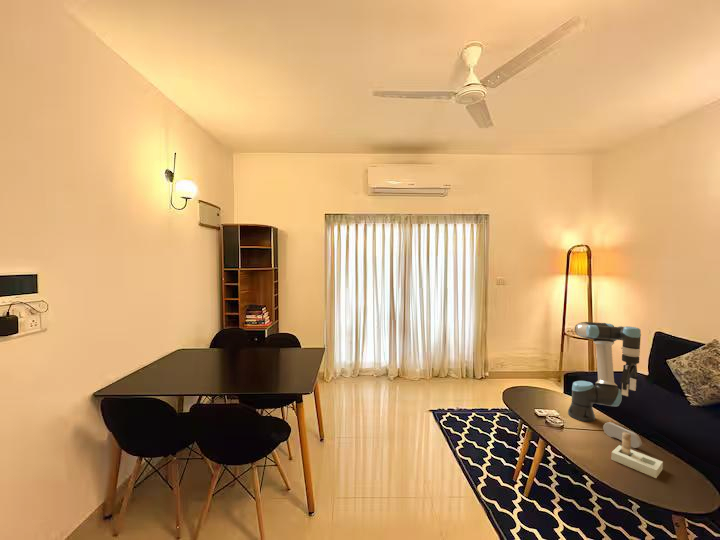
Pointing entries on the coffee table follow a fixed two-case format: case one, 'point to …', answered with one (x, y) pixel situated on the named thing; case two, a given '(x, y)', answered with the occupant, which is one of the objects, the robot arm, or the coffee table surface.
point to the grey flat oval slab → (617, 431)
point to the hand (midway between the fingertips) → (628, 392)
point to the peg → (626, 443)
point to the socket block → (638, 462)
